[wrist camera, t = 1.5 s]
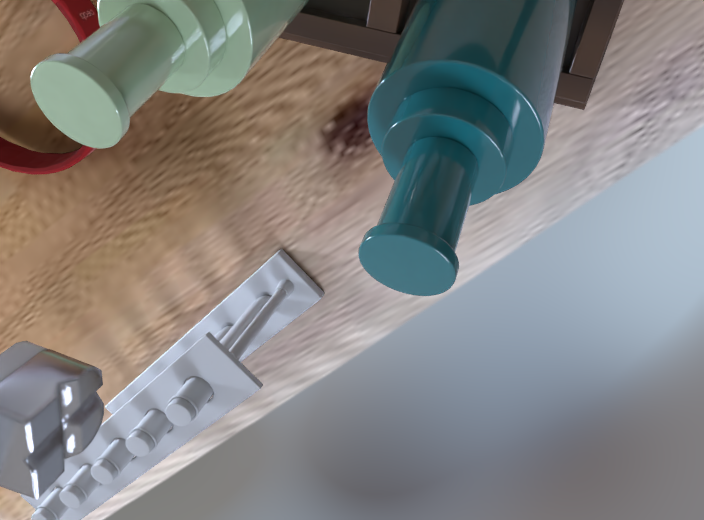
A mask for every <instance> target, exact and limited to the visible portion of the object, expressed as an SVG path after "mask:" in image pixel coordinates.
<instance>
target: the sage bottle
mask: <svg viewBox="0 0 704 520" xmlns="http://www.w3.org/2000/svg"><path fill="white" fill-rule="evenodd" d="M309 1H310V0H98V20H99V25H100V28H99V29H97V30H96V31H95V32H93V33H92V34H91V35H90V36H88V37H87V38H86V39H85V40H83V41H82V42H81V43H79V44H78V45H77V46H76V47H74V48H73V49H72V50H70V51H69V52H68V53H67V54H62V53H59V54H53V55H50V56H48V57H46V58H45V59H44V60H42V61H41V62H40V63H38V64H37V65H36V66H35V67H34V69H33V71H32V74H31V88H32V92H33V95H34V98H35V100H36V102H37V104H38V105H39V107H40V109H41V110H42V112H43V113H44V114H45V116H46V117H47V118H48V119H49V120H50V121H51V123H52V124H53V125H55V126H56V127H57V128H58V129H59V130H60V131H61V132H63V133H64V134H65V135H67V136H68V137H70V138H71V139H73V140H75V141H76V142H78V143H81V144H83V145H86V146H89V147H93V148H99V149H101V148H109V147H112V146H114V145H115V144H117V143H118V142H119V141H120V140H121V139H122V138H123V137H124V135H125V134H126V133H127V131H128V128H129V124H130V118H131V117H132V116H133V115H134V114H135V113H136V112H137V111H138V110H139V109H140V108H141V107H142V106H143V105H144V104H145V103H146V102H147V101H148V100H149V99H150V98H151V97H152V96H153V95H154V94H155V93H156V92H157V91H158V90H160V91H164V92H169V93H182V94H185V95H189V96H194V97H212V96H217V95H221V94H224V93H226V92H228V91H230V90H232V89H233V88H235V87H236V86H237V85H238V84H239V83H240V82H241V81H242V80H243V79H244V77H245V76H246V75H247V74H248V73H249V72H250V70H251V69H252V68H253V67H254V66H255V64H256V63H257V62H258V61H259V60H260V59H261V57H262V56H263V55H264V54H265V53H266V51H267V50H268V49H269V48H270V47H271V46H272V44H273V43H274V42H275V41H276V40H277V38H278V37H279V36H280V35H281V34H282V33H283V31H284V30H285V29H286V28H287V27H288V25H289V24H290V23H291V22H292V21H293V20H294V18H295V17H296V16H297V15H298V14H299V12H300V11H301V10H302V9H303V8H304V7H305V5H306V4H307V3H308V2H309Z"/></svg>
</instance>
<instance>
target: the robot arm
mask: <svg viewBox="0 0 704 520" xmlns="http://www.w3.org/2000/svg"><path fill="white" fill-rule="evenodd" d="M102 385H103V382H102V371H101V370H100V369H98V368H96V367H95V366H92V365H89V364H87V363H84V362H82V361H79V360H76V359H74V358H71V357H69V356H66V355H63V354H61V353H58V352H56V351H53V350H50V349H47V348H44V347H42V346H39V345H36V344H34V343H31V342H28V341H23V342H18V343H16V344H14V345H13V346H11V347H10V348H8V349H7V350H6V351H4V352H3V353H1V354H0V486H1V487H4V488H6V489H9V490H12V491H15V492H17V493H20V494H23V495H25V496H28V497H31V498H34V499H36V500H38V499H39V498H40V497H41V496H42V495H43V493H44V492H45V491H46V490H47V489H48V488H49V487H50V486H51V485H52V484H53V483H54V482H55V481H56V480H57V479H58V478H59V477H60V476H61V475H62V473H63V472H64V471H65V460H66V459H67V458H70V457H72V456H75V455H78V454H80V453H82V452H83V451H84V450H85V449H86V448H87V447H88V446H89V444H90V443H91V442H92V441H93V439H94V438H95V436H96V434H97V432H98V430H99V428H100V426H101V423H102V419H103V415H104V403H103V402H102V400H101V399H100V397H99V395H98V394H97V392H96V391H97V390H98V389H99V388H100V387H101V386H102Z"/></svg>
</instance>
